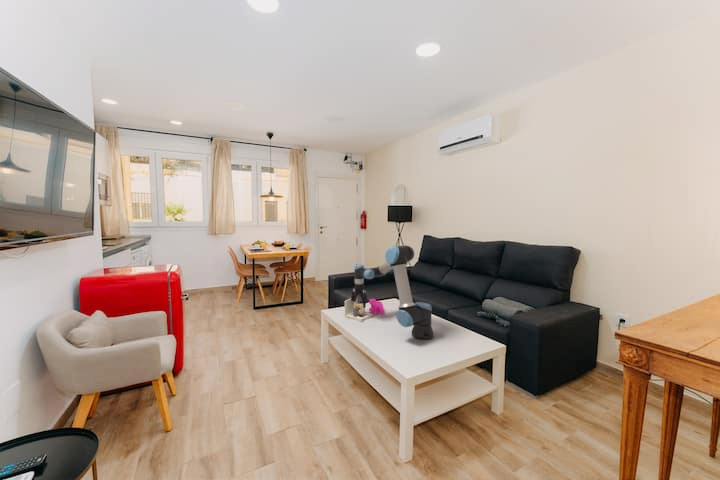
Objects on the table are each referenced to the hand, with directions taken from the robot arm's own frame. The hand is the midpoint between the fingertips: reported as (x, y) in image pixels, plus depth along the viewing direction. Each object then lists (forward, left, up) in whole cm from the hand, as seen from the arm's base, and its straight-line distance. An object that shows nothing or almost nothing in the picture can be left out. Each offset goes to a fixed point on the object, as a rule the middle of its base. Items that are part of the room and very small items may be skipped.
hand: (359, 310), depth 240 cm
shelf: (0, 0, -6) cm, 6 cm away
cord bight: (0, 0, -2) cm, 2 cm away
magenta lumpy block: (-5, -18, -6) cm, 20 cm away
